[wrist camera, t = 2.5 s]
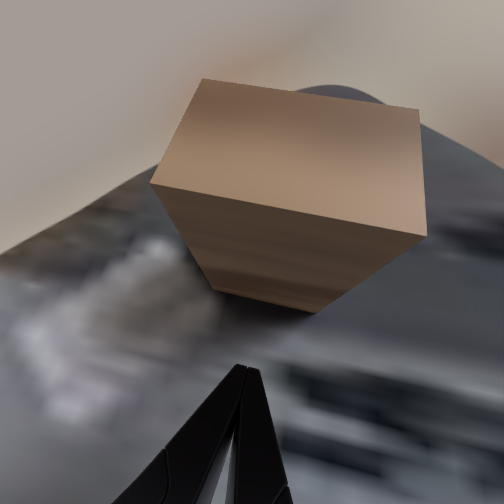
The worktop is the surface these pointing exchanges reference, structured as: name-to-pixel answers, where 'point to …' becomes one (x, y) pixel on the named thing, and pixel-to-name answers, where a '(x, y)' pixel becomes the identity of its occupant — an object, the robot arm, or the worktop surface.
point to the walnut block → (292, 190)
